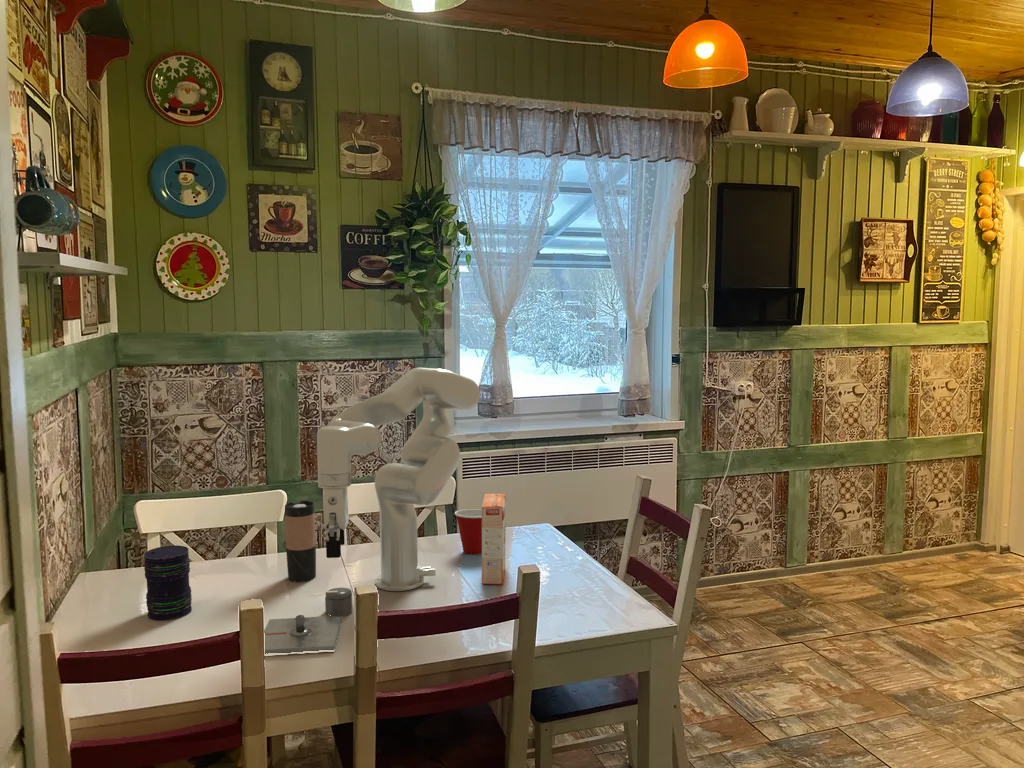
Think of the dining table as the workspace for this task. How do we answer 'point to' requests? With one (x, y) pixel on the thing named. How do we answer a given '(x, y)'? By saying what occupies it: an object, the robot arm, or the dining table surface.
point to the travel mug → (300, 541)
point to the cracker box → (493, 538)
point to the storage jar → (167, 583)
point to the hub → (301, 634)
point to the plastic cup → (470, 530)
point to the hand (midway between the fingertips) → (335, 550)
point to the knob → (338, 602)
